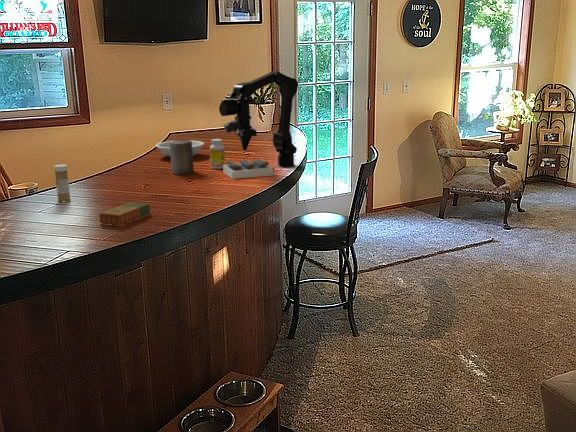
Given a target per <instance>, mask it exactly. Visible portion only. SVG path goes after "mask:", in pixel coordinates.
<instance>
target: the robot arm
mask: <svg viewBox="0 0 576 432" xmlns="http://www.w3.org/2000/svg"><path fill="white" fill-rule="evenodd" d="M273 83H274V84H275V85H276V86H278V89H279V90H278V91H279V95H280V97H281V101H280V112H279V123H278V130H277V131H276V132H273V136H272V137H273V138H272V141H271V142H272V143H273V147H274V148H275V151H276V152H277V153H278V155H277V165H278V166H279V167H281V168H288V167H289V168H290V167H296V165H295V154H296V153H297V150H298V148H297V147H296V146H295V145H294V144H293V137H292V134H291V130H290V129H291V128H290V127H291V120H292V118H291V117H292V109H293V108H292V107H293V99H294V97H295V96H296V94H297V92H298V87H299V82H298V80H297V79H296V78H294V77H290V76H288V75H286V74H283V73H282V72H280V71H277V70H276V71H274V70H271V71H270V72H269V73H266V74H264V75H262V76H260V77H257V78H255V79H253V80H250V81H247V82H246V81H245V82H240V83H236V84H235V85H234V86H233V89H232V92H231V94H230V95H229V97H228V99H225V98H224V99H221V102H220V103H219V107H218V109H219V114H220V116H221V117H229V116H235V117H234V120H230V121H229V122H227V123H224V124H223V128H224V130H225V133H227V134H230V133H232V132H233V133H235V132H236V133H235V135H236V136H237V137H238V138H239V141H240V143H241V146H242V150H243V151H247V150H248V146H249V144H250V141H251V139H252V137H256V136H257V135H258V133H257V132H258V131H257V130H256V129H255V128H253V126H252V125H251V119H252V116H251V114H250V113H251V112H250V111H251V110H250V104H252V103H253V104H254V102H255V101H254V100H253V99H252V98H251V96H252V95H254V94H255V92H256V91H258V90H260V89H262V88H264V87H266V86H270V84H273Z"/></svg>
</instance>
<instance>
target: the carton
mask: <svg viewBox="0 0 576 432" xmlns="http://www.w3.org/2000/svg"><path fill="white" fill-rule="evenodd" d="M150 207H151V206H150V203H145V202H143V203H141V202H126V203H125V204H121V205H119V206H116V207H113V208H110V209H108V210H105V211H103V212H100V213H99V223H103V224H112V225H119V226H120V225H123V224H126V223H128V222H130V221H133V220H135V219H138V218H140V217H143V216H145V215H148V214H150V215H151V208H150ZM148 216H149V215H148ZM143 218H144V217H143Z"/></svg>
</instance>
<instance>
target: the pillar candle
mask: <svg viewBox="0 0 576 432" xmlns="http://www.w3.org/2000/svg"><path fill="white" fill-rule="evenodd" d="M171 141H172V142H170V153H171V157H170V166H171V172H172V174H173V175H179V176H180V175H188V174H193V173H194V172H195V171H194V159H193V157H194V155H193V153H192V141H190V139H189V140H188V139H186V140H183V139H180V140H179V139H178V140H171Z"/></svg>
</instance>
